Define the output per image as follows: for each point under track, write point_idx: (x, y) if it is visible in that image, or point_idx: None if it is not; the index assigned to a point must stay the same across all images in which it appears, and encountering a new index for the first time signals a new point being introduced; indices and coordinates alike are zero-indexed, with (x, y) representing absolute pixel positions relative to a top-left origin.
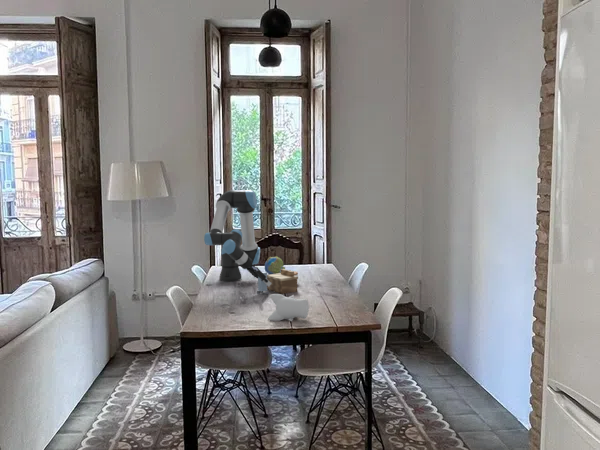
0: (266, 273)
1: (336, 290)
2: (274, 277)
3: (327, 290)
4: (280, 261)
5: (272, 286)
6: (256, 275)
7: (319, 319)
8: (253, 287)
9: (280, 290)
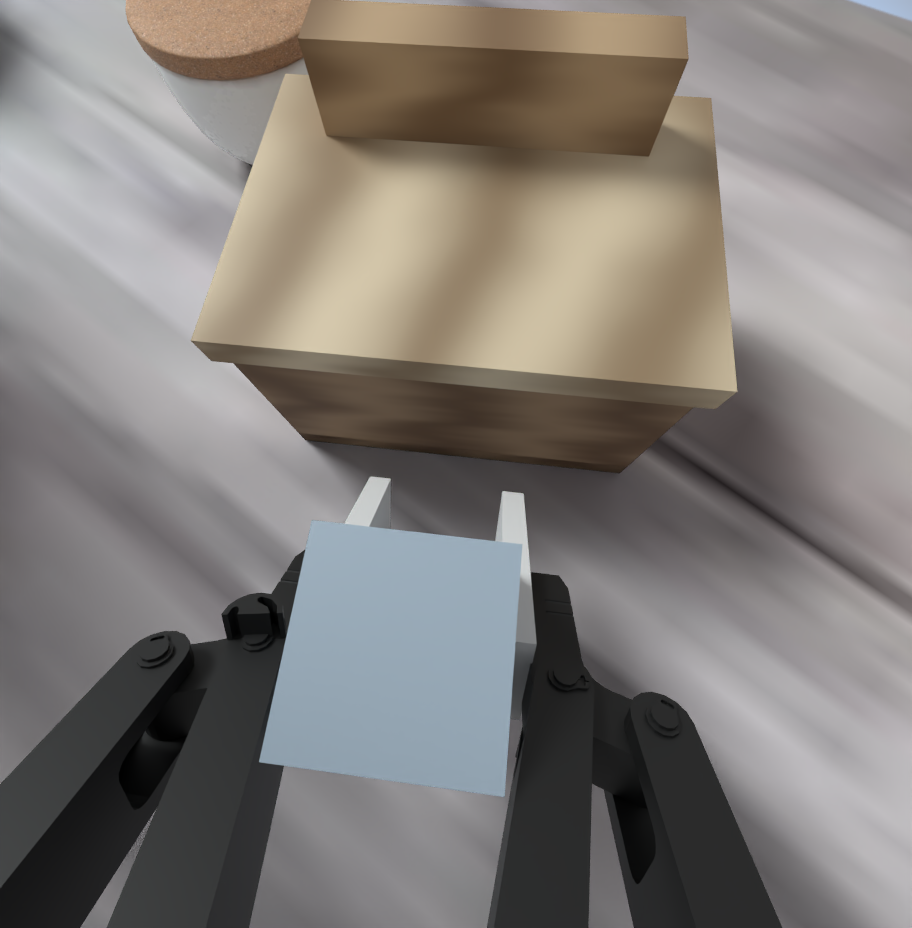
0: (517, 563)
1: (787, 48)
2: (497, 370)
3: (744, 88)
4: None
5: (422, 430)
6: (274, 776)
7: None
8: (80, 486)
9: (624, 458)
